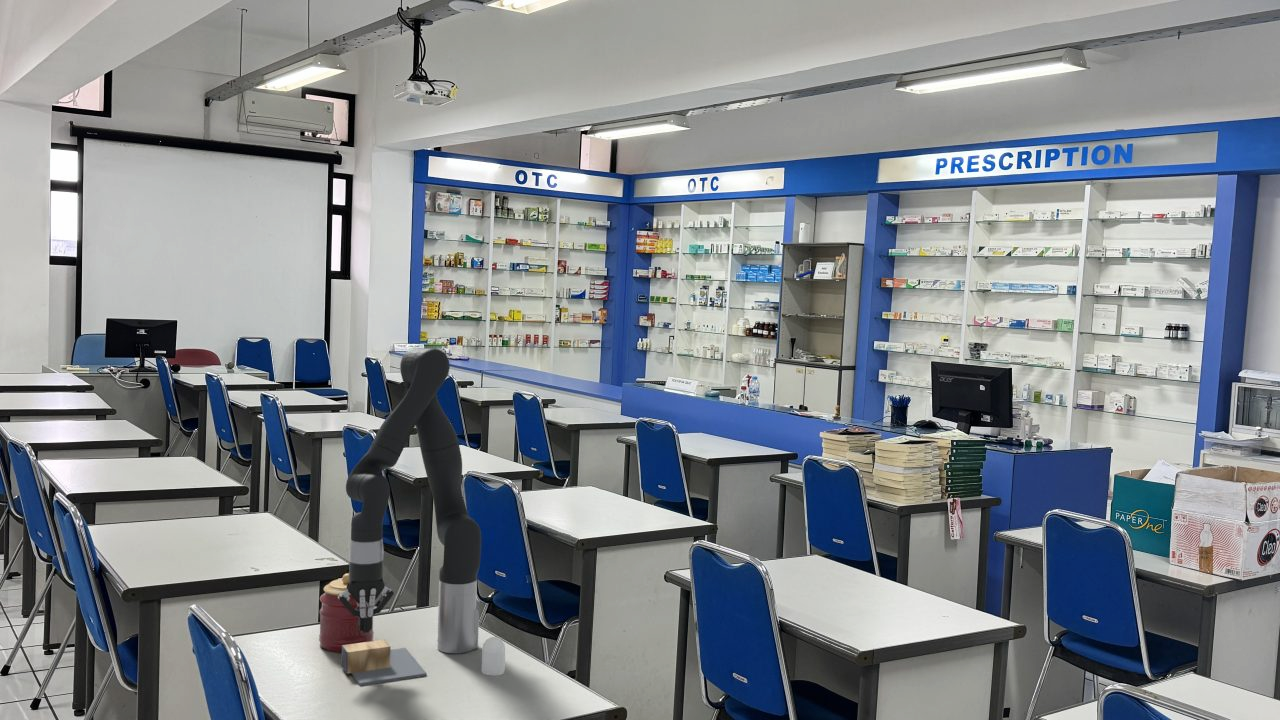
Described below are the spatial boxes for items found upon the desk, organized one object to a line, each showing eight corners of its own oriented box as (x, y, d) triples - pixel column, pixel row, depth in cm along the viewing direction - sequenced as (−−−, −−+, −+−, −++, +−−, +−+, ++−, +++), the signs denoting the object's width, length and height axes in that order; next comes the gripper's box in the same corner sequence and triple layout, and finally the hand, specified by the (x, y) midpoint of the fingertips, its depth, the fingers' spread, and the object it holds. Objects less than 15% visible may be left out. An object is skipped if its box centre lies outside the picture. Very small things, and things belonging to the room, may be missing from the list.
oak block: (341, 666, 235) (384, 660, 240) (346, 673, 231) (390, 667, 235) (341, 645, 235) (384, 639, 239) (346, 652, 230) (390, 646, 235)
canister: (376, 634, 259) (377, 566, 258) (369, 652, 246) (371, 581, 245) (323, 635, 257) (325, 566, 256) (314, 653, 244) (315, 581, 243)
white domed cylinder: (508, 673, 236) (509, 639, 236) (486, 676, 234) (487, 642, 233) (499, 665, 241) (500, 632, 240) (478, 669, 238) (479, 635, 238)
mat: (405, 650, 249) (405, 647, 249) (426, 675, 233) (426, 673, 233) (342, 658, 241) (342, 656, 241) (359, 685, 226) (359, 683, 226)
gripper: (390, 551, 240) (389, 623, 241) (333, 556, 233) (332, 630, 235) (399, 559, 233) (397, 633, 234) (340, 565, 227) (339, 641, 228)
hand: (365, 631), depth 234 cm, fingers closed
